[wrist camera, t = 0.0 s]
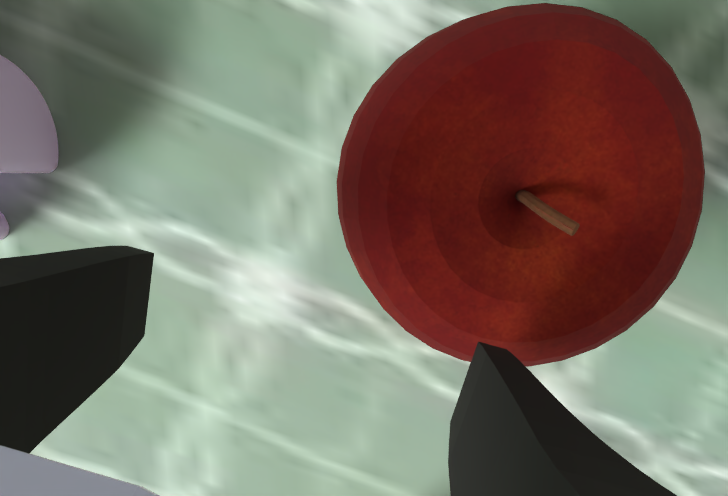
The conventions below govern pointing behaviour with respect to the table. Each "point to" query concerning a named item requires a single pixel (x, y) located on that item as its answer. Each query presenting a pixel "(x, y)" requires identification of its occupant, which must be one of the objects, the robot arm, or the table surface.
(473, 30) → the apple
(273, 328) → the table surface
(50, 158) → the clip
